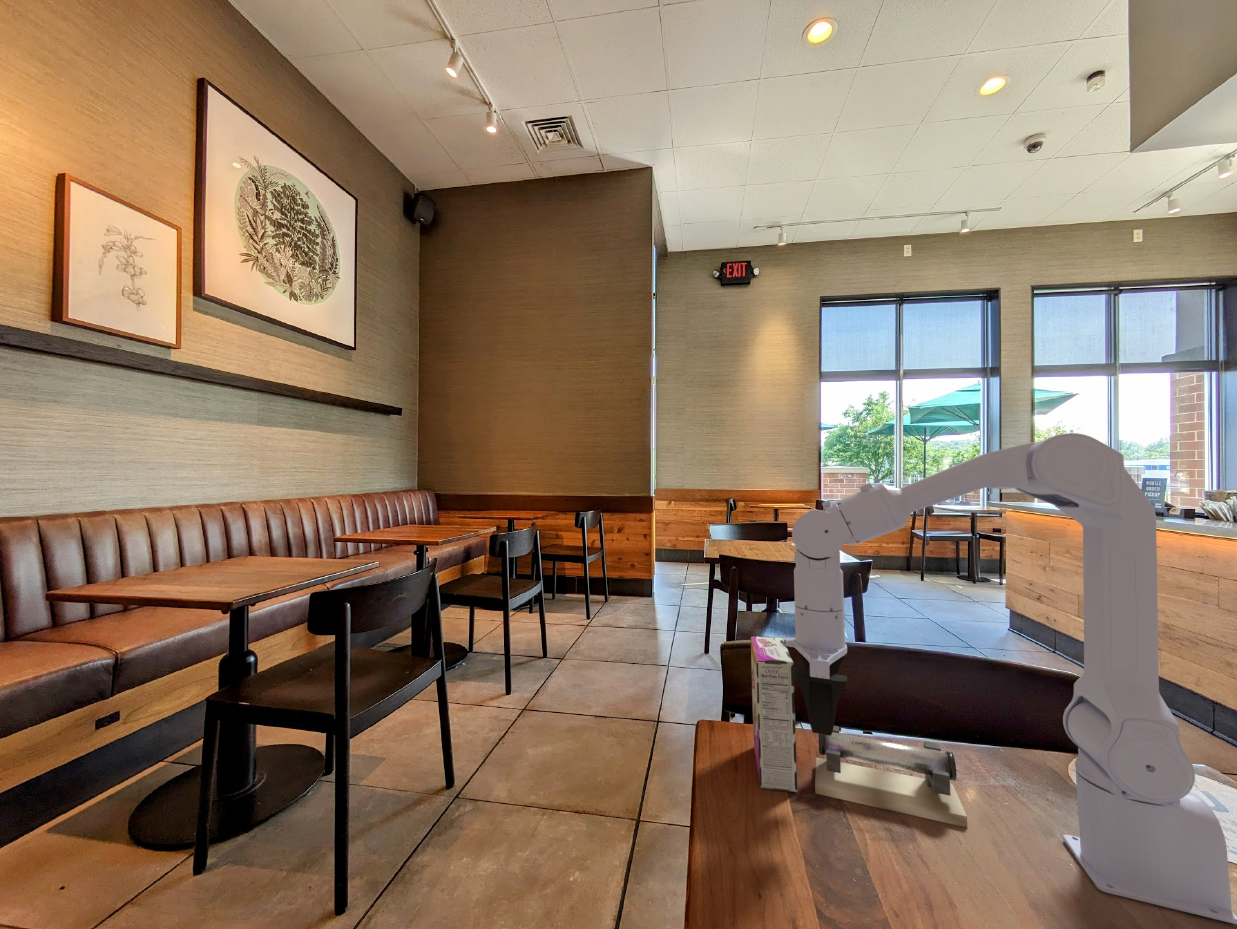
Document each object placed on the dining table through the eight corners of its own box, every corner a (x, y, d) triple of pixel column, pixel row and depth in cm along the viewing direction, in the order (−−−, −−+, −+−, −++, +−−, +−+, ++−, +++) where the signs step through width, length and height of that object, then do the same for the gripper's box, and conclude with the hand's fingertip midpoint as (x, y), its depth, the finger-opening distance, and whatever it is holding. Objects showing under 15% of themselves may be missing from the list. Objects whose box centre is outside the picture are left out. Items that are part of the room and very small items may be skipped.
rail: (951, 773, 60) (949, 747, 60) (957, 785, 57) (955, 759, 57) (819, 748, 65) (818, 725, 66) (819, 758, 63) (818, 734, 63)
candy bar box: (751, 746, 73) (749, 635, 74) (786, 750, 72) (783, 637, 73) (757, 790, 62) (755, 658, 63) (798, 794, 61) (795, 661, 62)
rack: (953, 794, 61) (950, 744, 62) (967, 827, 55) (964, 772, 55) (816, 766, 67) (815, 721, 68) (815, 793, 61) (814, 744, 62)
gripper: (789, 593, 69) (791, 692, 68) (780, 616, 55) (783, 739, 54) (843, 598, 66) (847, 700, 65) (848, 622, 53) (852, 752, 52)
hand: (822, 719), depth 60 cm, fingers open, 7 cm apart
